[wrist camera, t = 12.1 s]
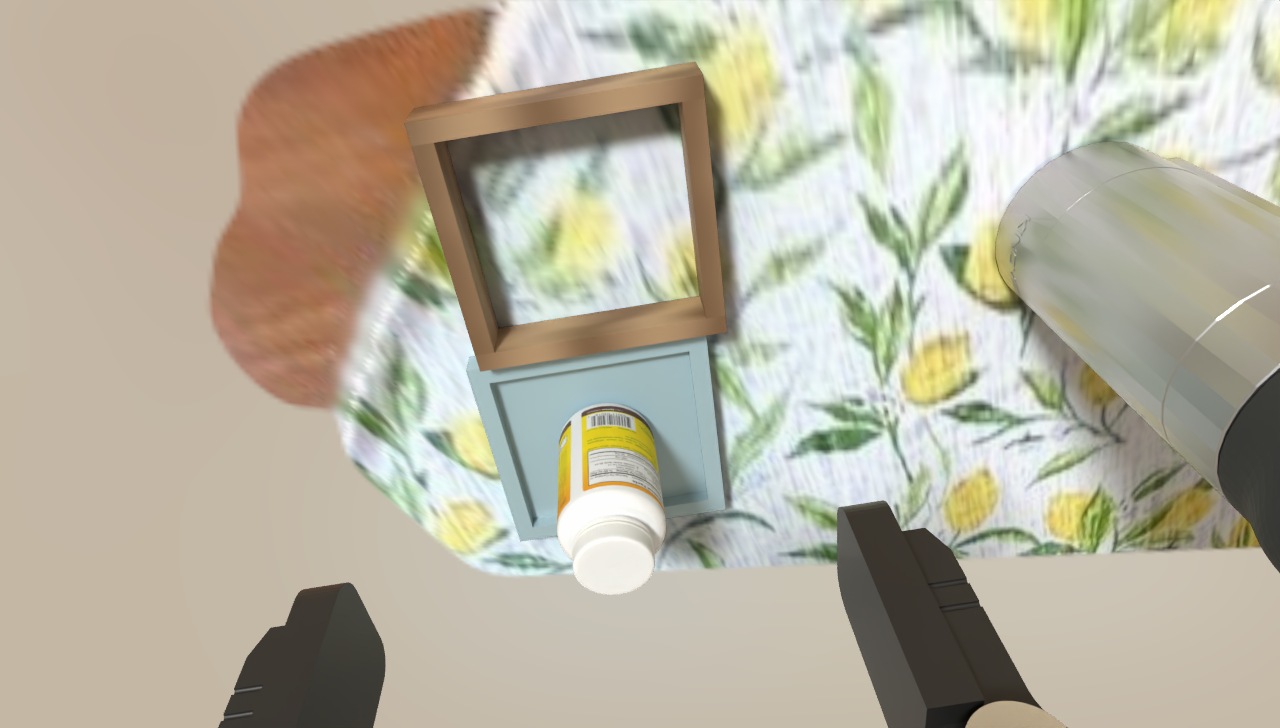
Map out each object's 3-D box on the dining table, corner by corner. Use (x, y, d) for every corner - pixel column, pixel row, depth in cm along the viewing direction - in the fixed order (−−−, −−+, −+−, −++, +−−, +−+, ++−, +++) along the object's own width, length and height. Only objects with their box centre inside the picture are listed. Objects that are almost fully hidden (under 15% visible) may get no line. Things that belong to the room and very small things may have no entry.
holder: (695, 61, 36) (702, 74, 33) (719, 308, 43) (727, 332, 41) (414, 108, 36) (404, 123, 34) (484, 346, 43) (480, 371, 41)
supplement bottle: (593, 486, 48) (597, 622, 40) (540, 427, 45) (531, 559, 37) (671, 445, 47) (692, 576, 38) (621, 381, 44) (631, 507, 35)
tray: (702, 319, 43) (705, 332, 42) (721, 494, 50) (725, 509, 49) (468, 357, 43) (466, 371, 42) (521, 525, 50) (520, 541, 49)
